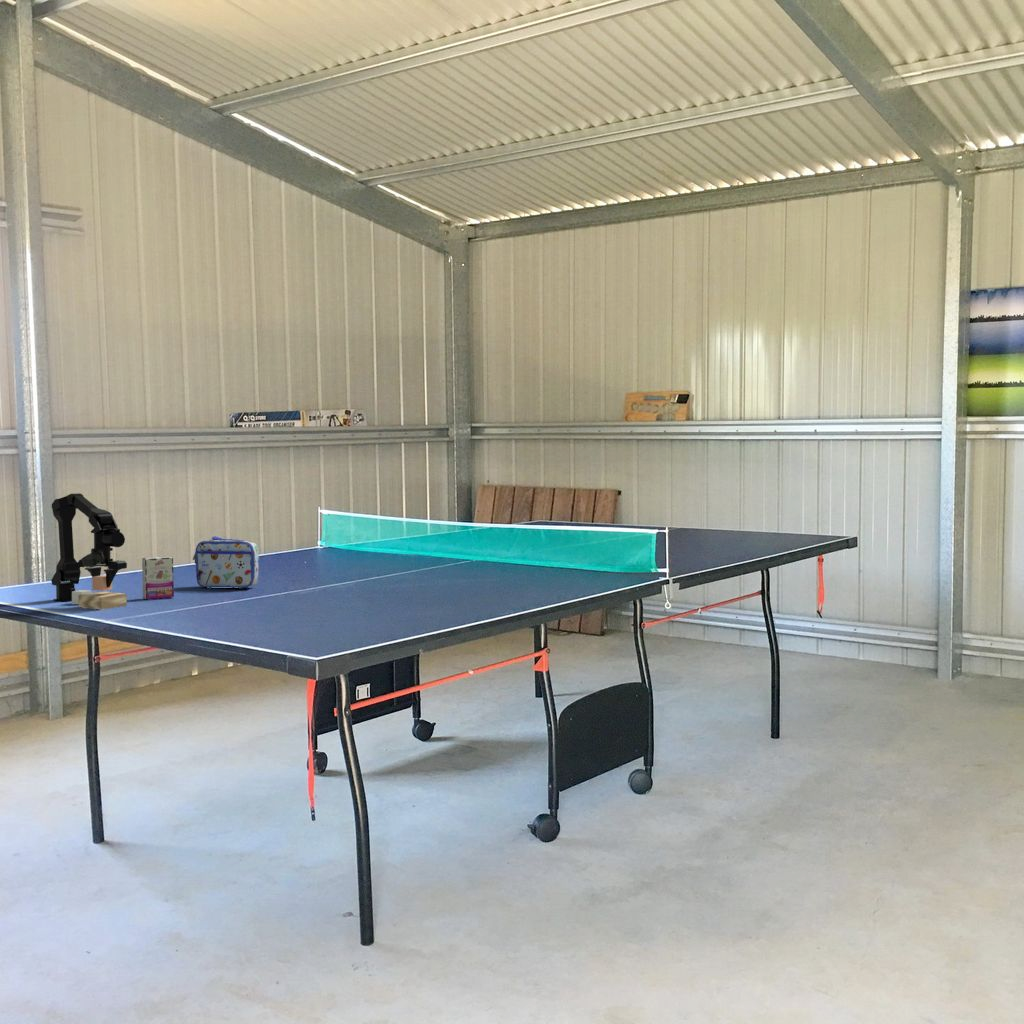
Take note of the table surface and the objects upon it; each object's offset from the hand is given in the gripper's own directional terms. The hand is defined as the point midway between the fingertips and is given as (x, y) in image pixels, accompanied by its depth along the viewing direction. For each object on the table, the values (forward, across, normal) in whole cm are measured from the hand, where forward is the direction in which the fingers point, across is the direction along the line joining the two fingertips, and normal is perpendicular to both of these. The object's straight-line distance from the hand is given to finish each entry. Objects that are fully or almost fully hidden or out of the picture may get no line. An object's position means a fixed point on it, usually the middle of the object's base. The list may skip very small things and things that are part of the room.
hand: (102, 586), depth 404 cm
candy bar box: (+8, +4, +26) cm, 27 cm away
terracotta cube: (+1, 0, 0) cm, 1 cm away
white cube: (+8, -12, +2) cm, 14 cm away
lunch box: (+8, +9, +63) cm, 64 cm away
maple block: (+8, 0, 0) cm, 8 cm away
